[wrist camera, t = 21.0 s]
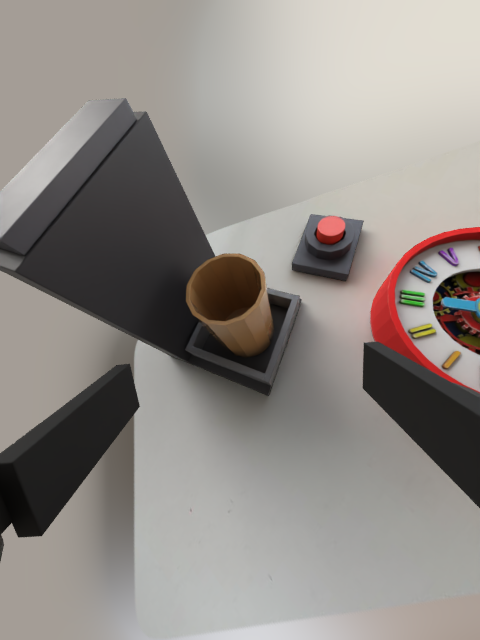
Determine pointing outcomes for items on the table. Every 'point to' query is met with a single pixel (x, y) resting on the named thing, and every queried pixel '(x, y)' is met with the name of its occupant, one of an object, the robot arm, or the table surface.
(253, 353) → the cup
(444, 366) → the toy clock
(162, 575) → the table surface
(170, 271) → the coffee maker
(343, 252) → the switch block
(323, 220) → the button
